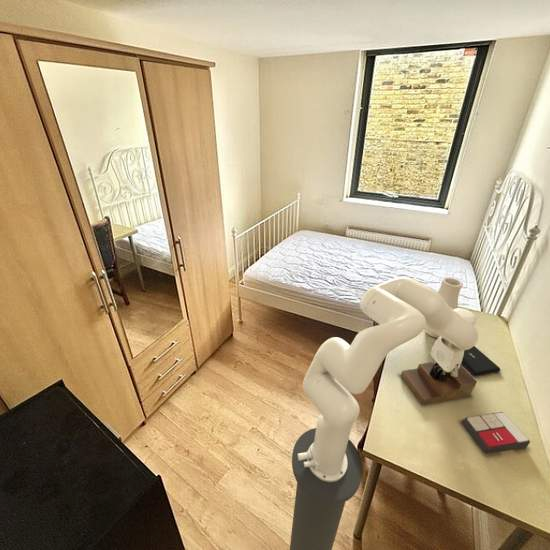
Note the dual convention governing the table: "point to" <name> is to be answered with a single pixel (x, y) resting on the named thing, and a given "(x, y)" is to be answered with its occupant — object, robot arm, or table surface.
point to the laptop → (478, 362)
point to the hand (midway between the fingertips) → (438, 375)
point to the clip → (436, 372)
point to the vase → (448, 296)
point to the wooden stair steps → (437, 384)
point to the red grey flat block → (495, 433)
